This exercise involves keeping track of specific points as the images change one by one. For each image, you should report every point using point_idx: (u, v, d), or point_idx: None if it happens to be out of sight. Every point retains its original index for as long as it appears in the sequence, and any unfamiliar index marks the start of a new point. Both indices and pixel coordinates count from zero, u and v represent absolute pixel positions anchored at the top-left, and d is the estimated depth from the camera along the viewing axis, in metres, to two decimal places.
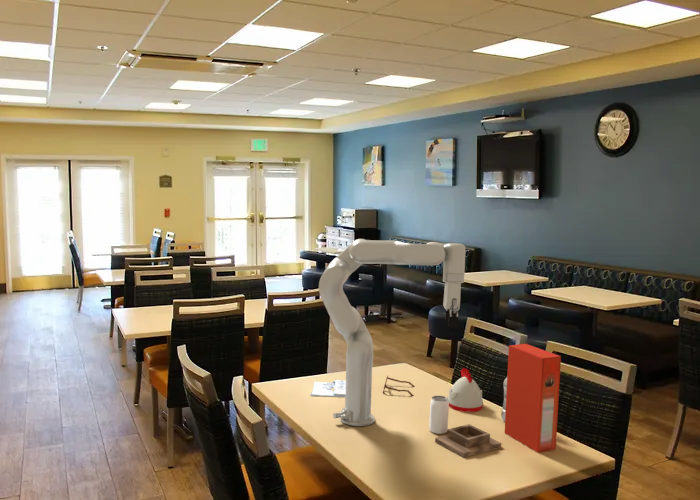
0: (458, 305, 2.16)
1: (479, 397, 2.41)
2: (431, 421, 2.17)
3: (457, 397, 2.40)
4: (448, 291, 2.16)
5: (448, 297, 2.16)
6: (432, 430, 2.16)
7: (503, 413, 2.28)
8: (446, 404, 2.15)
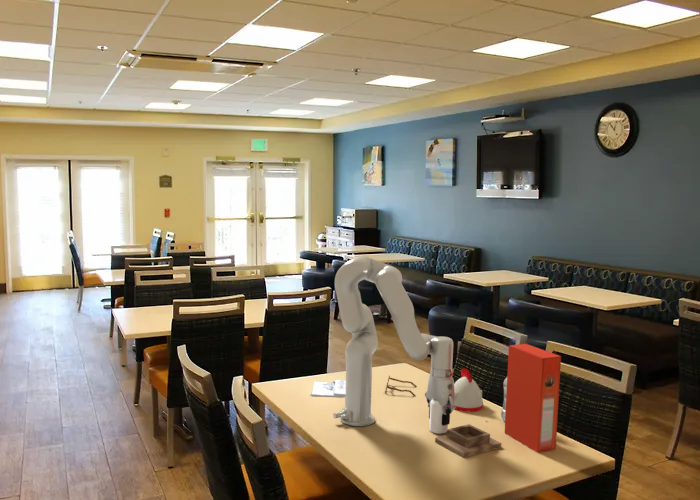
0: None
1: (479, 397, 2.41)
2: (431, 421, 2.17)
3: (457, 397, 2.40)
4: None
5: None
6: (432, 430, 2.16)
7: (503, 413, 2.28)
8: (446, 404, 2.15)
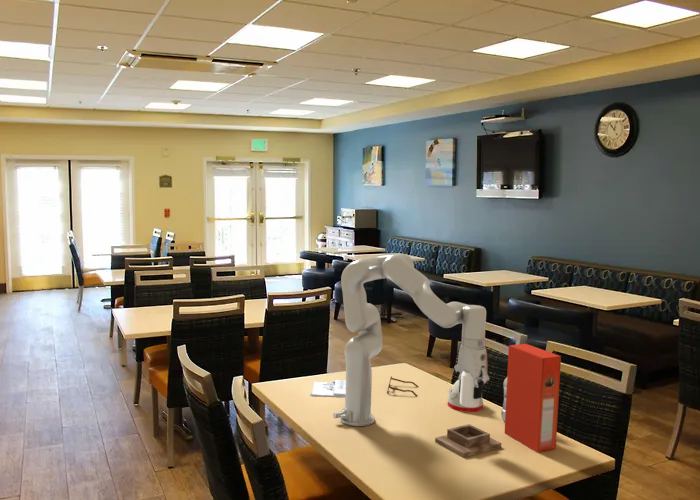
0: None
1: None
2: (462, 394, 2.04)
3: (457, 397, 2.40)
4: None
5: None
6: (463, 404, 2.04)
7: (503, 413, 2.28)
8: None
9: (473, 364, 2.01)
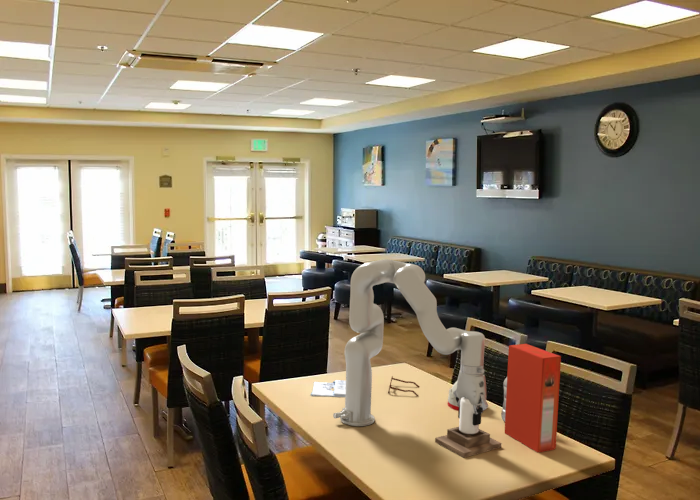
0: None
1: None
2: (461, 421, 2.05)
3: None
4: None
5: None
6: (462, 430, 2.05)
7: (503, 413, 2.28)
8: None
9: (472, 391, 2.02)
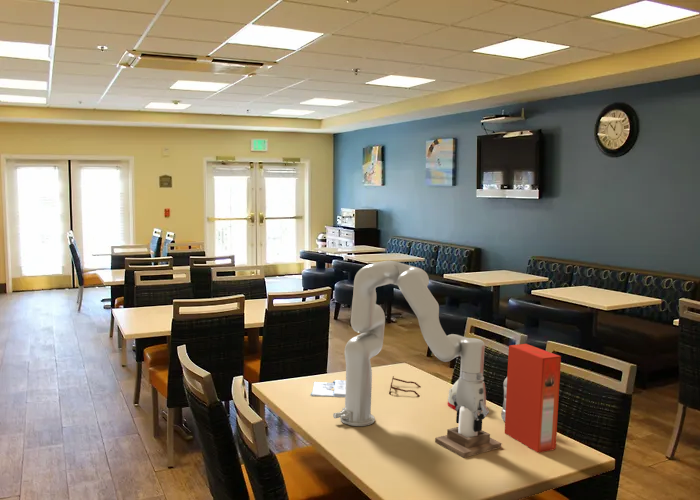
0: None
1: None
2: (460, 429, 2.06)
3: None
4: None
5: None
6: None
7: (503, 413, 2.28)
8: None
9: (471, 398, 2.02)
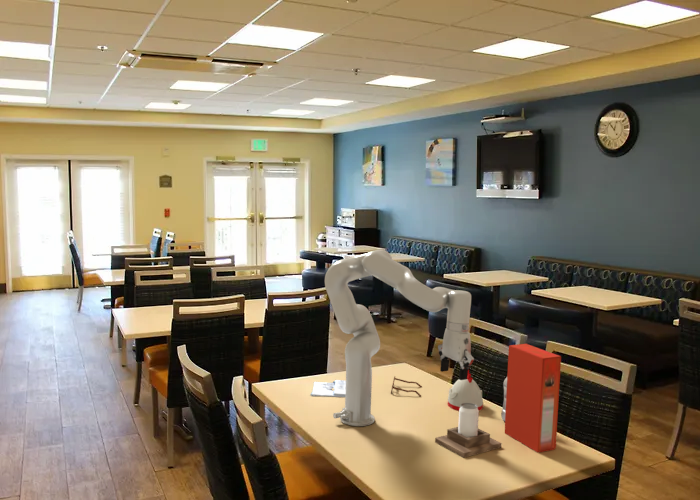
0: None
1: (479, 397, 2.41)
2: (460, 430, 2.06)
3: (457, 397, 2.40)
4: None
5: None
6: None
7: (503, 413, 2.28)
8: (476, 412, 2.04)
9: (456, 347, 2.07)
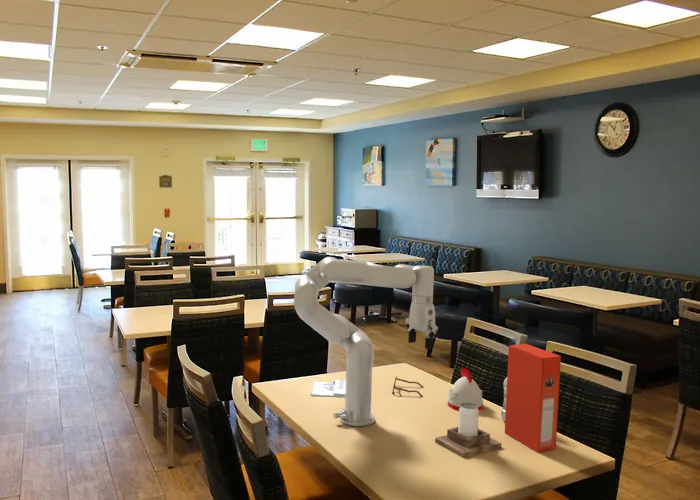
0: None
1: (479, 397, 2.41)
2: (460, 430, 2.06)
3: (457, 397, 2.40)
4: None
5: None
6: None
7: (503, 413, 2.28)
8: (476, 412, 2.04)
9: (422, 318, 2.21)
